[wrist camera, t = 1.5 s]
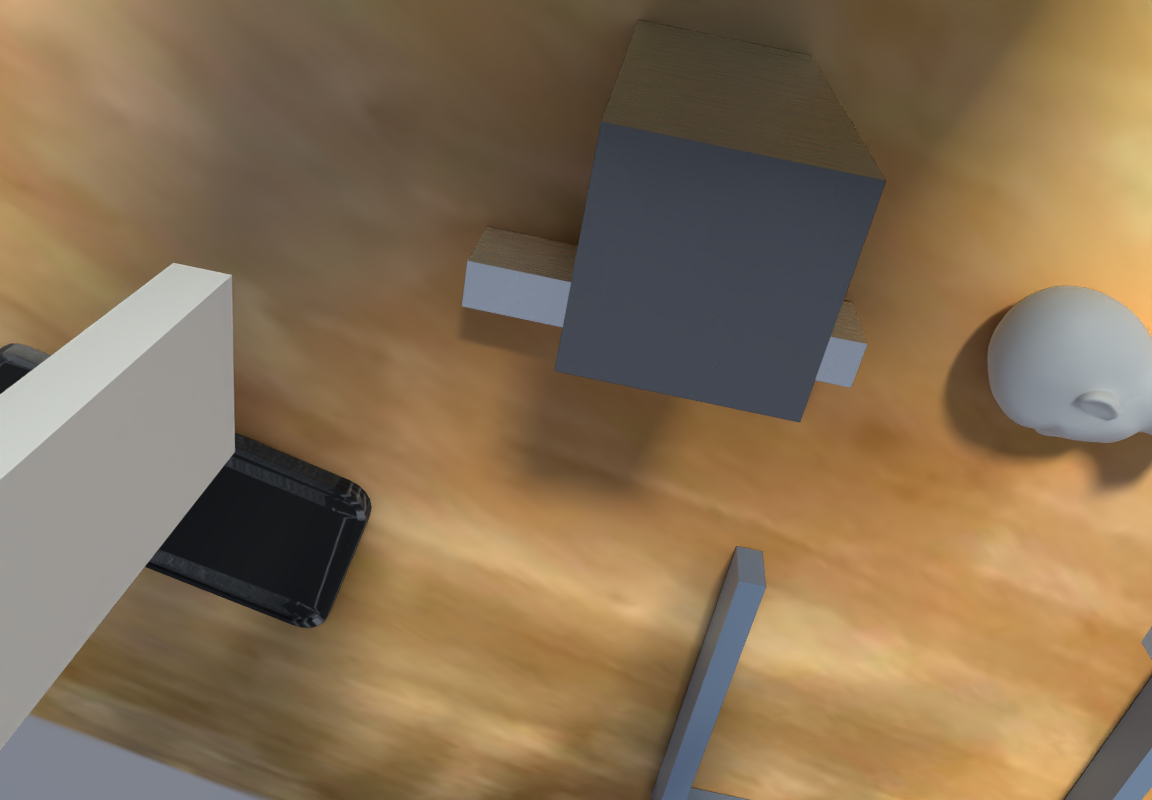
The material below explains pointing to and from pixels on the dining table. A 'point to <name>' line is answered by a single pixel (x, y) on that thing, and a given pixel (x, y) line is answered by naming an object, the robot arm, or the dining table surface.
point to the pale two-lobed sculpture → (1073, 366)
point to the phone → (256, 526)
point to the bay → (1101, 796)
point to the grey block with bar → (704, 232)
